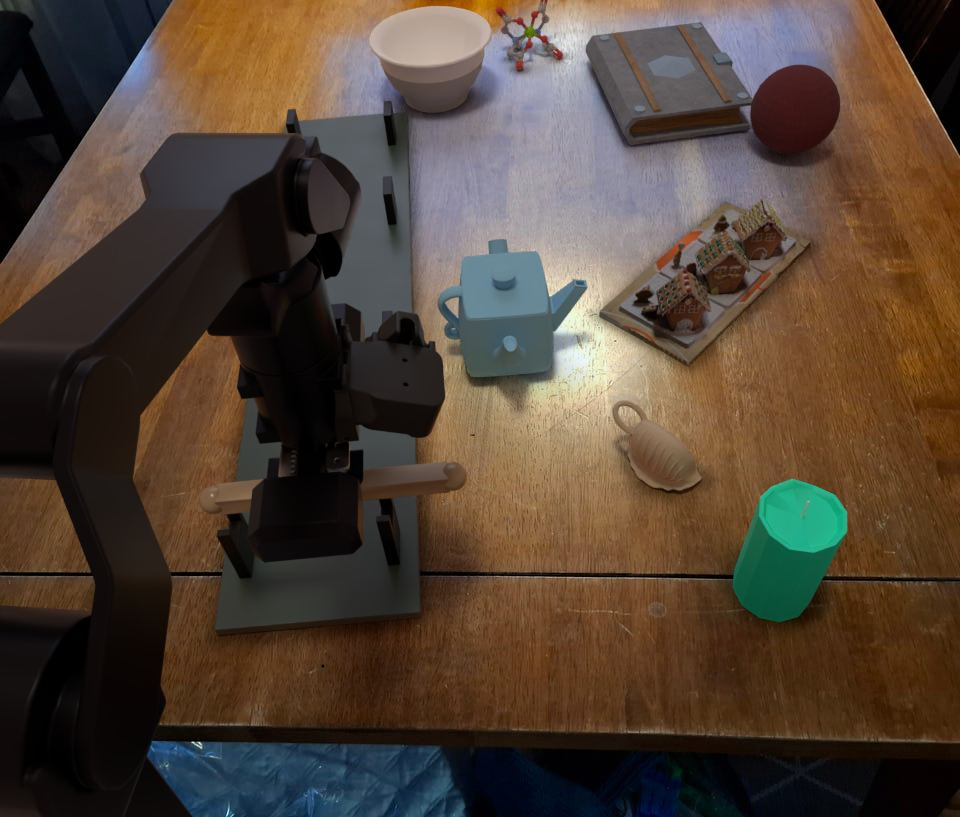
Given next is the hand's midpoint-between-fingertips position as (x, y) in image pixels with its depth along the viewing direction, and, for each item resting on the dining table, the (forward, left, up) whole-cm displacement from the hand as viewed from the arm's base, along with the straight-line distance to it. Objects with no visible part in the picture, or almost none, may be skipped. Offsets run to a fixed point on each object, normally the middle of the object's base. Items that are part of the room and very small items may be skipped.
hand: (336, 496), depth 60 cm
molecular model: (+82, +20, -12) cm, 86 cm away
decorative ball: (+72, -18, -12) cm, 75 cm away
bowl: (+68, +28, -12) cm, 75 cm away
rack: (+27, +19, -12) cm, 34 cm away
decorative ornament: (+20, -18, -12) cm, 30 cm away
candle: (+12, -30, -12) cm, 35 cm away
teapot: (+28, -1, -12) cm, 31 cm away
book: (+78, -1, -12) cm, 79 cm away
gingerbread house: (+45, -16, -12) cm, 50 cm away
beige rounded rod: (0, 0, 0) cm, 0 cm away
